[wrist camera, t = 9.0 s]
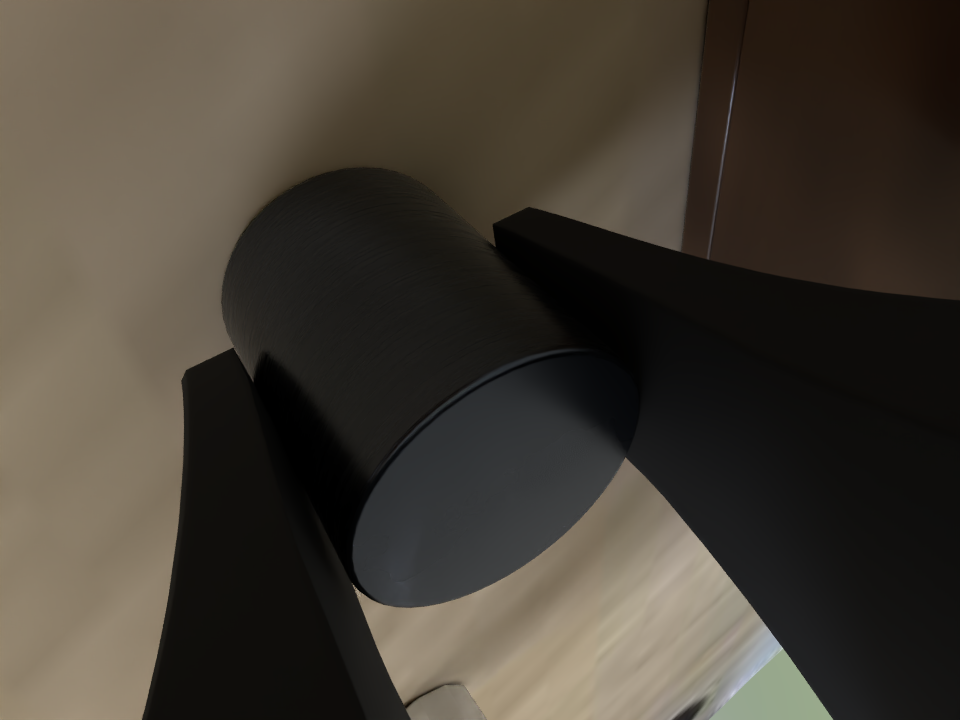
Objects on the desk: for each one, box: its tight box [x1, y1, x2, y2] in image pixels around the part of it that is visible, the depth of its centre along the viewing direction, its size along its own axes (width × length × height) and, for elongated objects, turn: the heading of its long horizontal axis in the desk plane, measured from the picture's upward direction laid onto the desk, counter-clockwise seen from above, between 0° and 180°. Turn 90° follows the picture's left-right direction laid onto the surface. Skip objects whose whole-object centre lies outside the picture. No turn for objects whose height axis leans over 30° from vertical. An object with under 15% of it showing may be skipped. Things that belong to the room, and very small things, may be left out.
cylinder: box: [222, 167, 640, 608], centre depth 9 cm, size 4×4×4 cm
